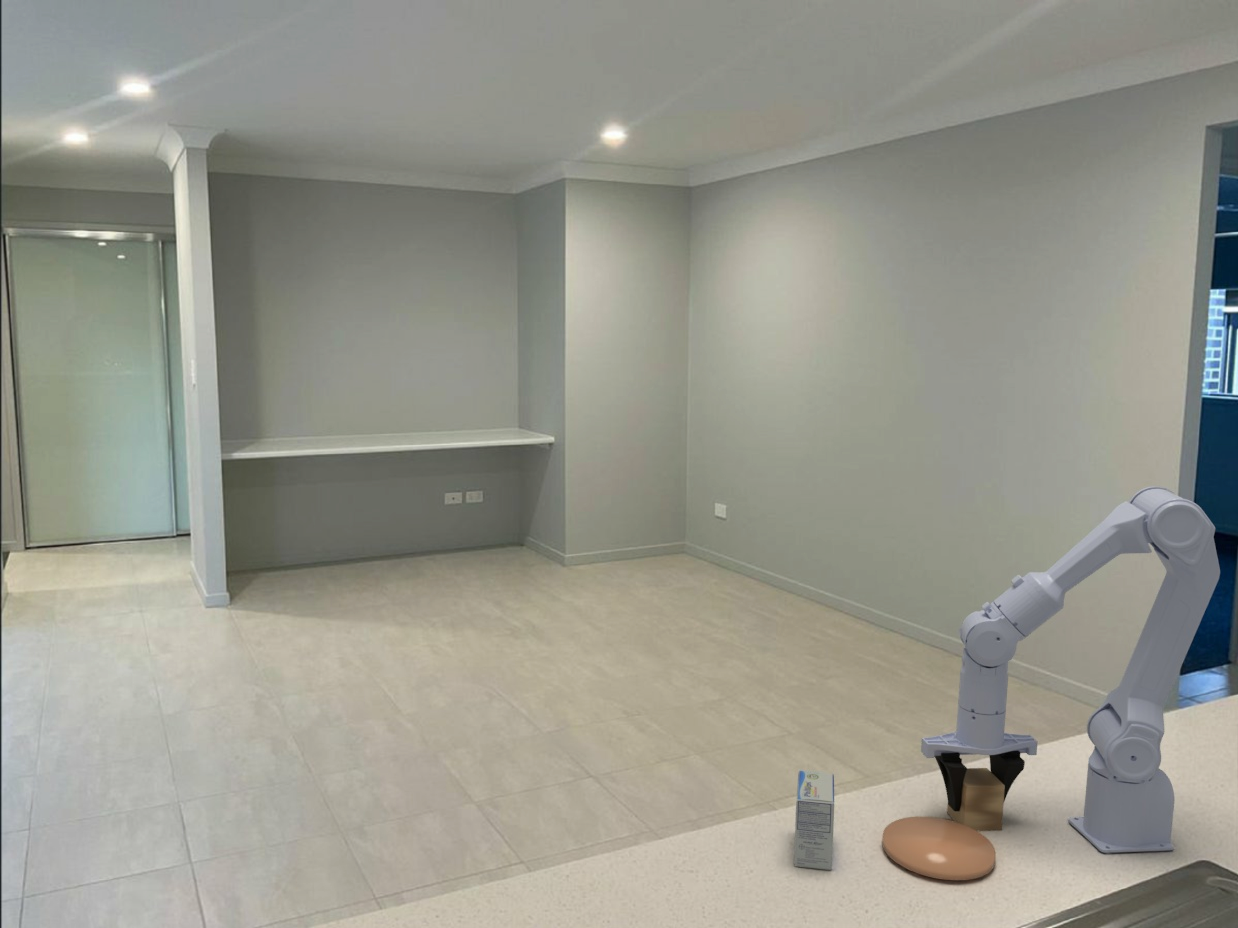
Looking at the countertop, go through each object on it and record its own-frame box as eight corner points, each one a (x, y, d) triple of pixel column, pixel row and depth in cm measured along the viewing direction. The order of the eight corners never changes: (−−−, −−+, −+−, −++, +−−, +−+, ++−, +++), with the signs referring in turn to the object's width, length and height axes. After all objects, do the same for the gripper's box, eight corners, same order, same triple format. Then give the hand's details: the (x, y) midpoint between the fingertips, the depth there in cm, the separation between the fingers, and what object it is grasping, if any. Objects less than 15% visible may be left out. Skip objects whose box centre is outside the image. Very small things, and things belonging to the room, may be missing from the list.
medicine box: (831, 872, 116) (835, 802, 115) (793, 867, 117) (796, 798, 116) (831, 837, 124) (834, 772, 122) (795, 833, 125) (798, 768, 123)
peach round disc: (965, 824, 127) (966, 814, 127) (1015, 881, 114) (1016, 870, 114) (867, 828, 126) (867, 817, 126) (905, 886, 113) (906, 874, 113)
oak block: (983, 810, 131) (986, 767, 130) (1001, 829, 126) (1004, 785, 125) (947, 811, 131) (949, 768, 130) (963, 831, 126) (966, 786, 125)
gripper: (1021, 693, 131) (1013, 790, 133) (914, 695, 129) (908, 793, 131) (1048, 714, 124) (1040, 816, 126) (936, 717, 122) (929, 820, 124)
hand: (974, 806), depth 128 cm, fingers closed on oak block, 5 cm apart
